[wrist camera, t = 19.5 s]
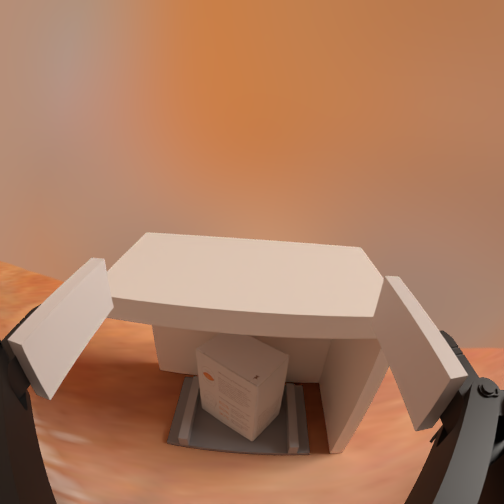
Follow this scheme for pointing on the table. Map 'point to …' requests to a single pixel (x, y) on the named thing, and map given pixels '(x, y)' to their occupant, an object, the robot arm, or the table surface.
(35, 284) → the table surface
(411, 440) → the table surface
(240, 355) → the small box
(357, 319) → the cabinet
